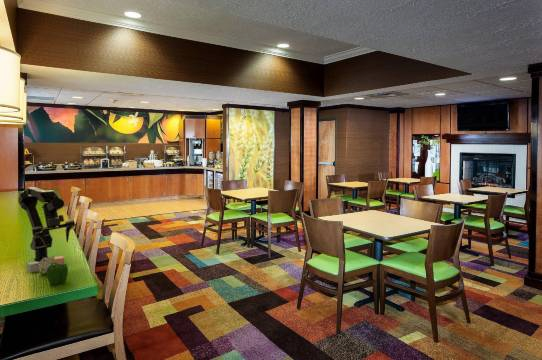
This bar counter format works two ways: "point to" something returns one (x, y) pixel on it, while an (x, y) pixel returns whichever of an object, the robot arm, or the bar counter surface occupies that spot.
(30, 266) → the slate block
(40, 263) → the game die
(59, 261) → the terracotta block
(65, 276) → the bell pepper
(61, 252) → the bar counter surface
